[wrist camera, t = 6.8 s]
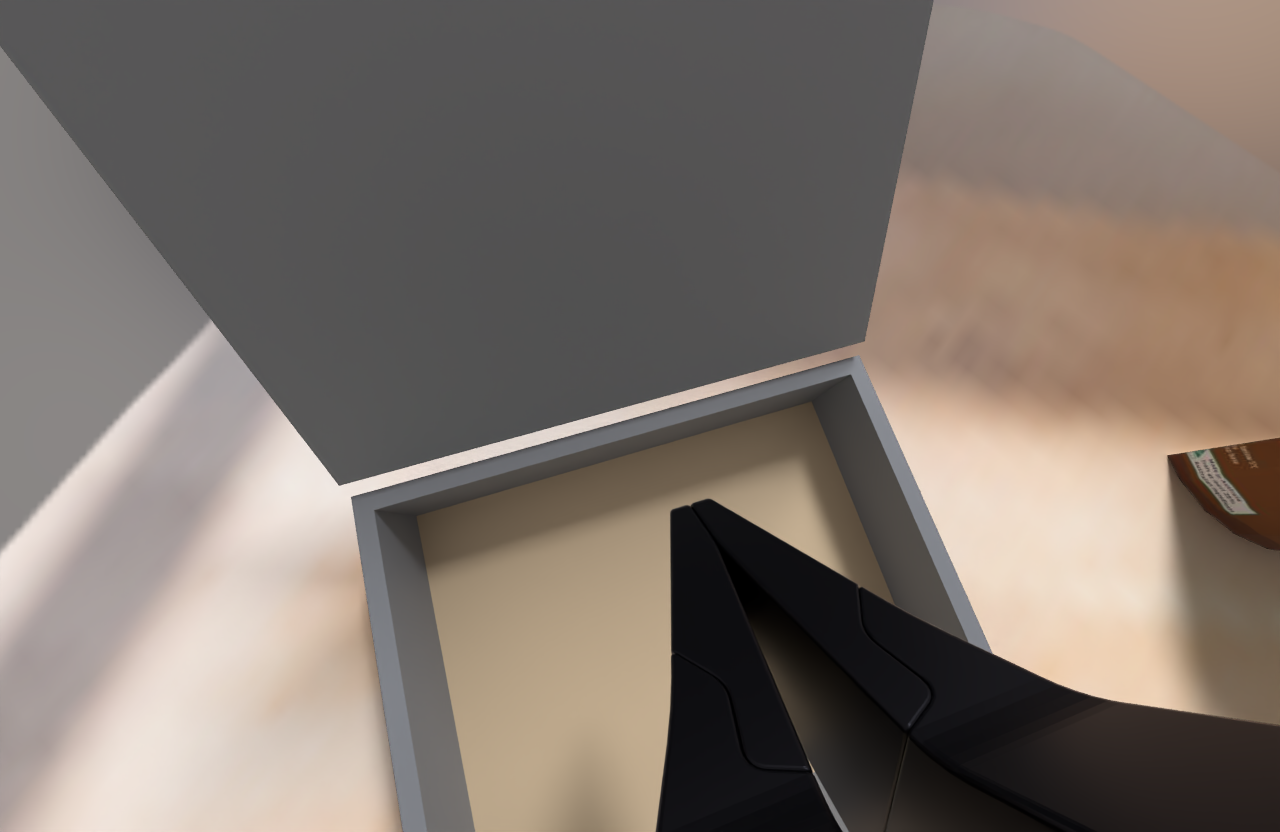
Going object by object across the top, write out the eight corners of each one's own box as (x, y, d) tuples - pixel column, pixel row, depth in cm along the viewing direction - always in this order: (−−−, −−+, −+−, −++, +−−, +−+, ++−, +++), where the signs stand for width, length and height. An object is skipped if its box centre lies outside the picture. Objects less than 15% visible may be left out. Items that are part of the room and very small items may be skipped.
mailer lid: (1008, -372, 8) (979, -348, 8) (-291, -332, 5) (-232, -302, 6) (864, 341, 17) (854, 333, 17) (339, 485, 14) (343, 472, 15)
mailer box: (951, 724, 18) (1046, 774, 14) (479, 922, 15) (436, 1050, 11) (812, 389, 21) (859, 355, 17) (404, 506, 18) (351, 497, 15)
